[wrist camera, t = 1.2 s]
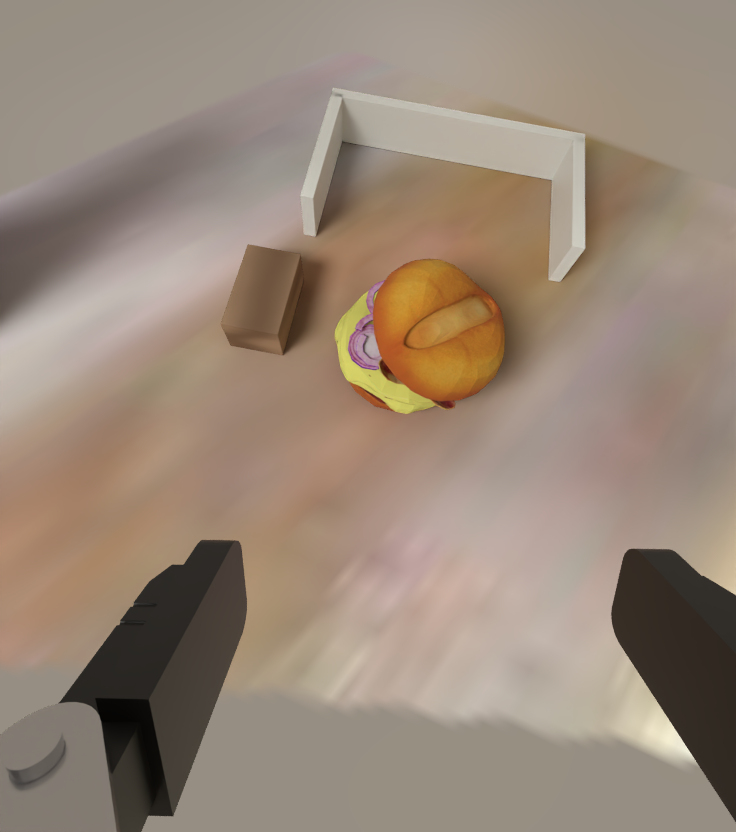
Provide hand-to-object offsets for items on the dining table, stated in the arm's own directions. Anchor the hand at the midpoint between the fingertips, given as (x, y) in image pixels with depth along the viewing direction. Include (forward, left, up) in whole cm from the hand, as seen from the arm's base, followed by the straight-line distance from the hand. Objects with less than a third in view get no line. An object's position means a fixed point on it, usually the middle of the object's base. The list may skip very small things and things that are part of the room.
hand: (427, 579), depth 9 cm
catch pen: (+1, +32, -20) cm, 37 cm away
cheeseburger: (0, +16, -20) cm, 25 cm away
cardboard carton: (-11, +18, -20) cm, 29 cm away
